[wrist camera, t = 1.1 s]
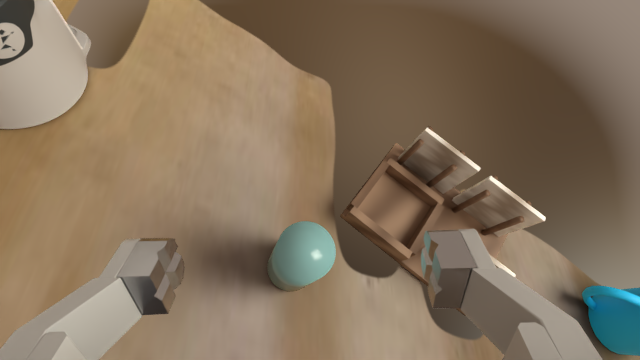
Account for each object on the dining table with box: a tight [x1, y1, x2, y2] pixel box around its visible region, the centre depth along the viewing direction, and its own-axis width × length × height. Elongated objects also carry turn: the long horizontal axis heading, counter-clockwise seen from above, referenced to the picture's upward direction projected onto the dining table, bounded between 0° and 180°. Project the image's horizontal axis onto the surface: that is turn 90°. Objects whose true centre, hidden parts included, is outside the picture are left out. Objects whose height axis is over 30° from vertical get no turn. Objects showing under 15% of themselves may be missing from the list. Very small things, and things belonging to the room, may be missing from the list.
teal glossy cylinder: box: [267, 221, 336, 291], centre depth 38 cm, size 6×6×10 cm
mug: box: [582, 286, 640, 356], centre depth 45 cm, size 12×8×8 cm
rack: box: [340, 126, 546, 316], centre depth 44 cm, size 20×14×9 cm
